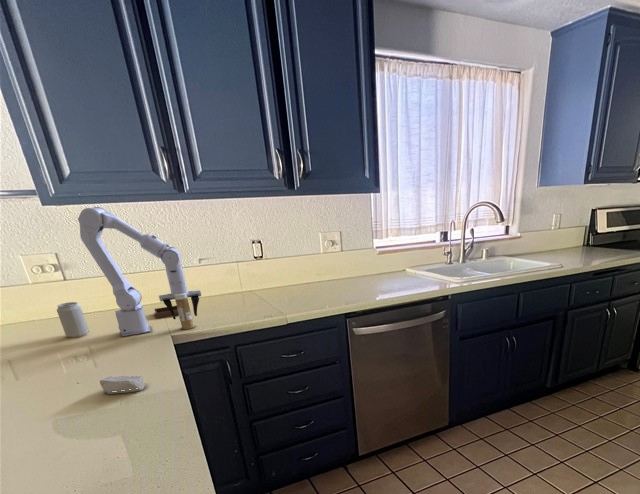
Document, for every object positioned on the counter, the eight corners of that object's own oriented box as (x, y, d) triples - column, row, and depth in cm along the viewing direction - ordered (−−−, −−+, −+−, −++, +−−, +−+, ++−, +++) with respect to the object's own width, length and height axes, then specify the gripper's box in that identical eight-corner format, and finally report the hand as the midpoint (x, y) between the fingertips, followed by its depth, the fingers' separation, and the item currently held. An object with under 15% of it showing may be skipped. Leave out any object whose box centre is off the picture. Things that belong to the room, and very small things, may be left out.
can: (87, 330, 165) (76, 300, 160) (92, 334, 160) (81, 303, 155) (64, 335, 161) (53, 304, 155) (68, 339, 156) (57, 307, 151)
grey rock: (146, 397, 119) (149, 377, 118) (135, 402, 113) (139, 380, 112) (108, 388, 118) (112, 368, 117) (95, 392, 111) (99, 371, 111)
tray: (157, 318, 178) (155, 313, 177) (155, 313, 186) (154, 308, 185) (185, 314, 183) (184, 309, 182) (183, 309, 190) (182, 304, 190)
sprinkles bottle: (195, 328, 165) (187, 293, 159) (182, 330, 163) (174, 295, 157) (192, 325, 168) (185, 291, 163) (180, 327, 166) (172, 293, 160)
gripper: (196, 277, 166) (203, 311, 171) (154, 282, 159) (163, 317, 165) (198, 280, 160) (206, 315, 166) (156, 285, 154) (165, 322, 159)
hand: (185, 317), depth 165 cm, fingers open, 7 cm apart
